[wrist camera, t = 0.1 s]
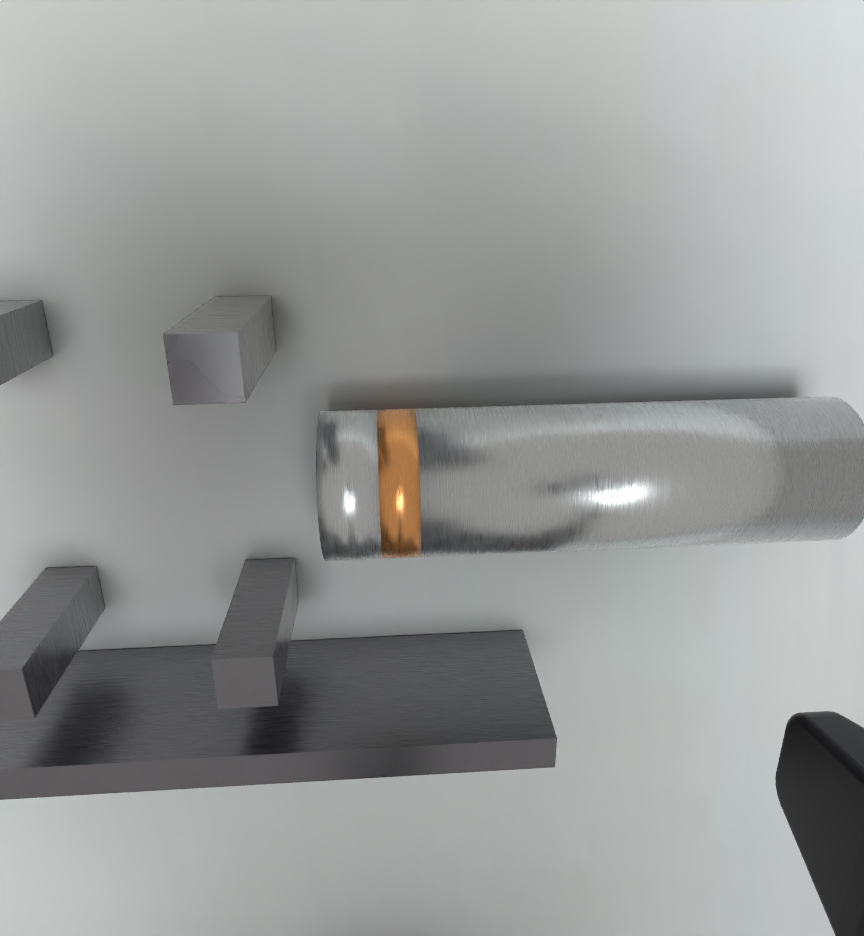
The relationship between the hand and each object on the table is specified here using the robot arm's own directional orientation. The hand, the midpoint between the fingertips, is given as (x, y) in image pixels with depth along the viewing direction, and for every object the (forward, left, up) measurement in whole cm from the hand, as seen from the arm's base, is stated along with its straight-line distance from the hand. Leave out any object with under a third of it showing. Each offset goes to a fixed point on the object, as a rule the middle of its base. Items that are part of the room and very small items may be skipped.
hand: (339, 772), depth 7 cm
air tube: (-2, -6, -15) cm, 16 cm away
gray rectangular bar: (-7, +7, -15) cm, 18 cm away
